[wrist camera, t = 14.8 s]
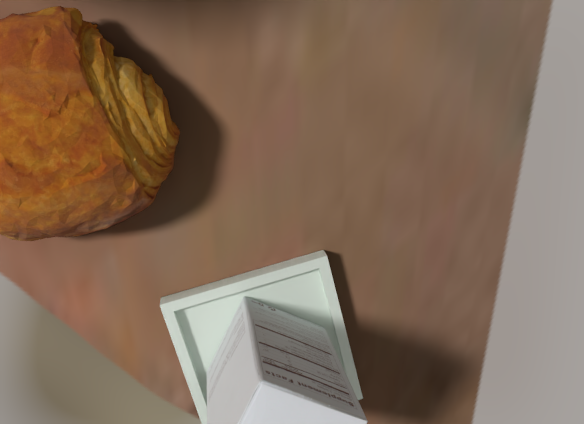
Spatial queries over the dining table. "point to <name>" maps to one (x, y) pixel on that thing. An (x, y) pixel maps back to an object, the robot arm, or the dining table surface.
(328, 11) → the dining table surface
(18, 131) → the croissant
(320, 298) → the pale green square tray
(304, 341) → the supplement box
